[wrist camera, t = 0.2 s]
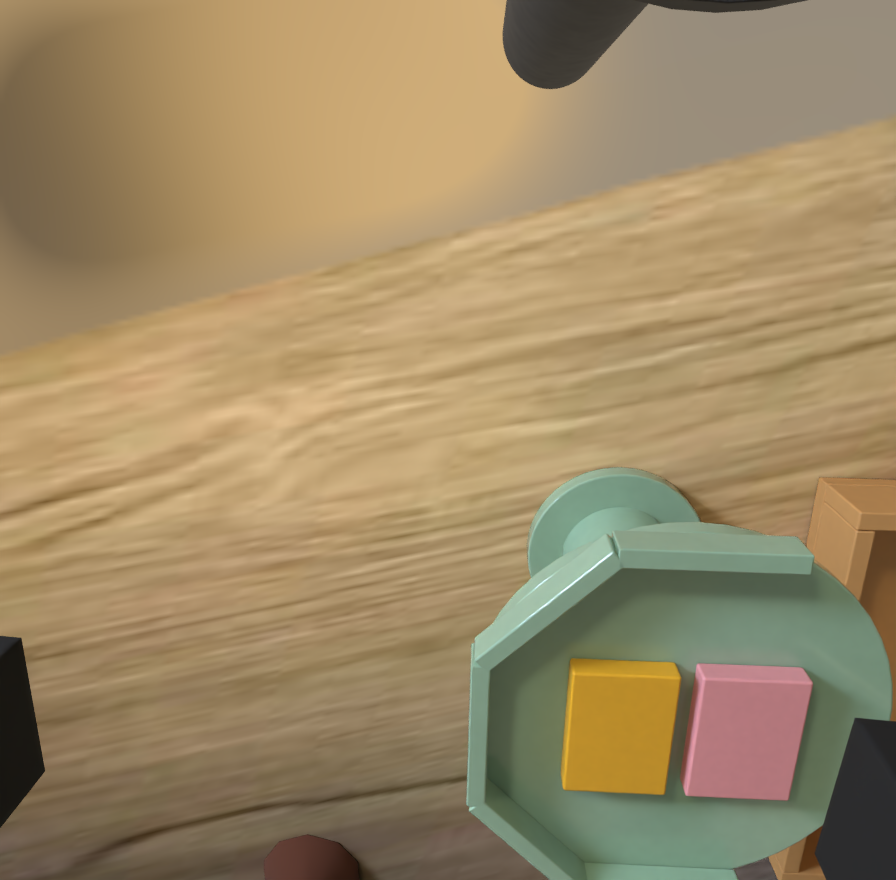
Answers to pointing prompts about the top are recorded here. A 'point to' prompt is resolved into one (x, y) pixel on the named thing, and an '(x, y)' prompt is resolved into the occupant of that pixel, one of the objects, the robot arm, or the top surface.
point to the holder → (869, 579)
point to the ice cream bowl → (310, 860)
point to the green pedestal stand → (660, 640)
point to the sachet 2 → (744, 731)
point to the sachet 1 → (619, 725)
